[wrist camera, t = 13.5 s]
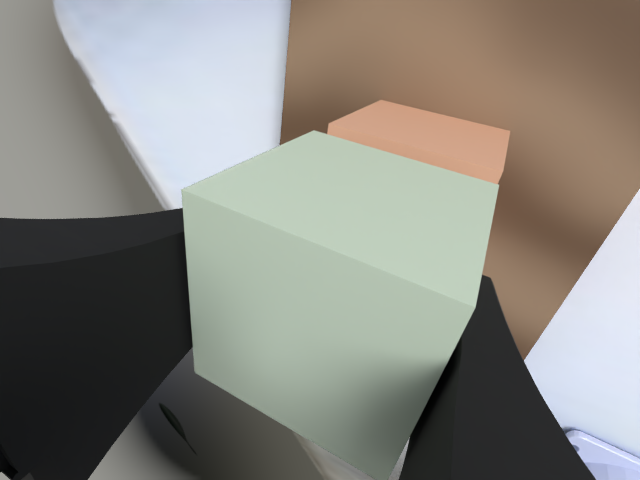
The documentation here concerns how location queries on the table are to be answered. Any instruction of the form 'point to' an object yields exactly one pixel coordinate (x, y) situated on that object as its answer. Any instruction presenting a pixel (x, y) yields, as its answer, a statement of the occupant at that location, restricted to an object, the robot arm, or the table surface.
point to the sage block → (334, 287)
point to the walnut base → (496, 115)
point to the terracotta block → (427, 138)
